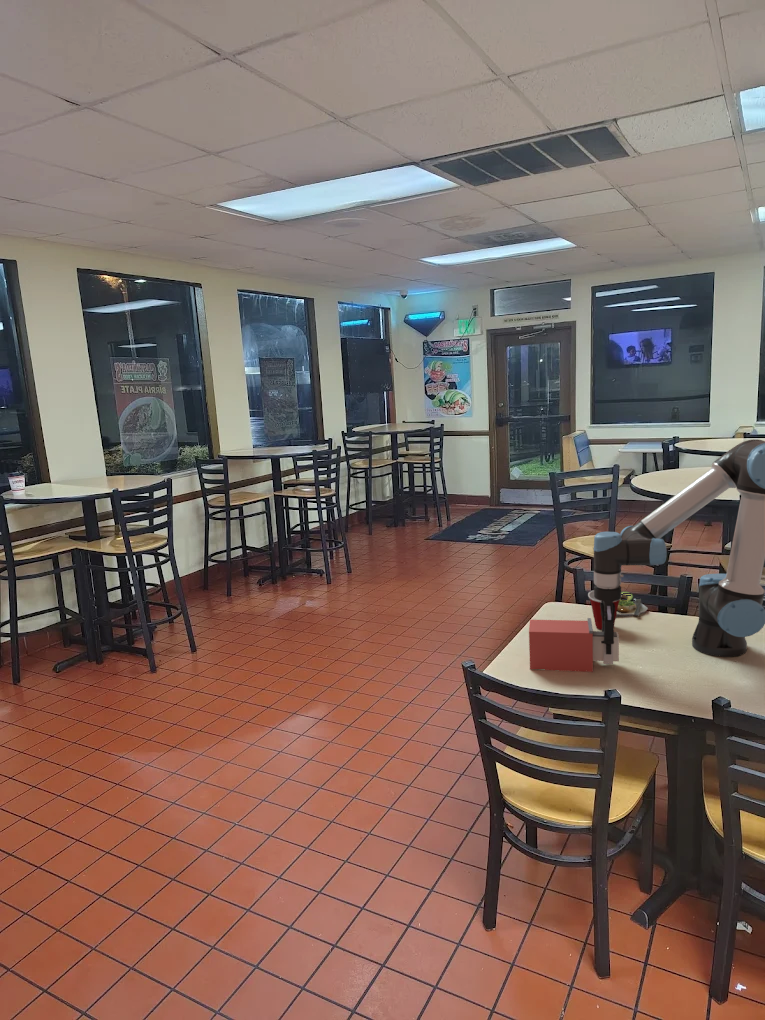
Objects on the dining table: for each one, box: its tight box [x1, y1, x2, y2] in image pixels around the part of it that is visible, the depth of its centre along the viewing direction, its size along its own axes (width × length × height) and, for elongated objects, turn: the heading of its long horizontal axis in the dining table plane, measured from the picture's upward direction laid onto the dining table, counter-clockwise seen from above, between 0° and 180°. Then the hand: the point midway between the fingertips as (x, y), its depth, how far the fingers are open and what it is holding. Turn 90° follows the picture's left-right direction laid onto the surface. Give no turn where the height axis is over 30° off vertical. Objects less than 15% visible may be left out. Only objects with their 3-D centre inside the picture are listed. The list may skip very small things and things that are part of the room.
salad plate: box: [616, 591, 648, 618], centre depth 244 cm, size 19×18×5 cm
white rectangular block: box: [593, 630, 620, 662], centre depth 201 cm, size 18×3×8 cm, turn 76°
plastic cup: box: [587, 589, 622, 631], centre depth 228 cm, size 11×11×12 cm
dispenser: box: [528, 617, 594, 673], centre depth 203 cm, size 18×10×13 cm, turn 76°
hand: (607, 660), depth 200 cm, fingers closed on white rectangular block, 3 cm apart
